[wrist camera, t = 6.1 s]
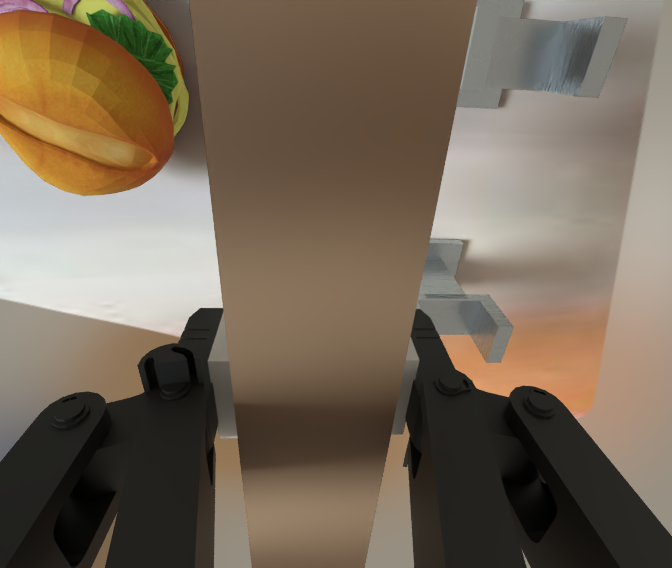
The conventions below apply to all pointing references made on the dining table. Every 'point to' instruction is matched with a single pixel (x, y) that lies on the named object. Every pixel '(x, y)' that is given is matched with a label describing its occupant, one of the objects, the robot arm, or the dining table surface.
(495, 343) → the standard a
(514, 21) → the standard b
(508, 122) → the dining table surface
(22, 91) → the cheeseburger
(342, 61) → the rail
